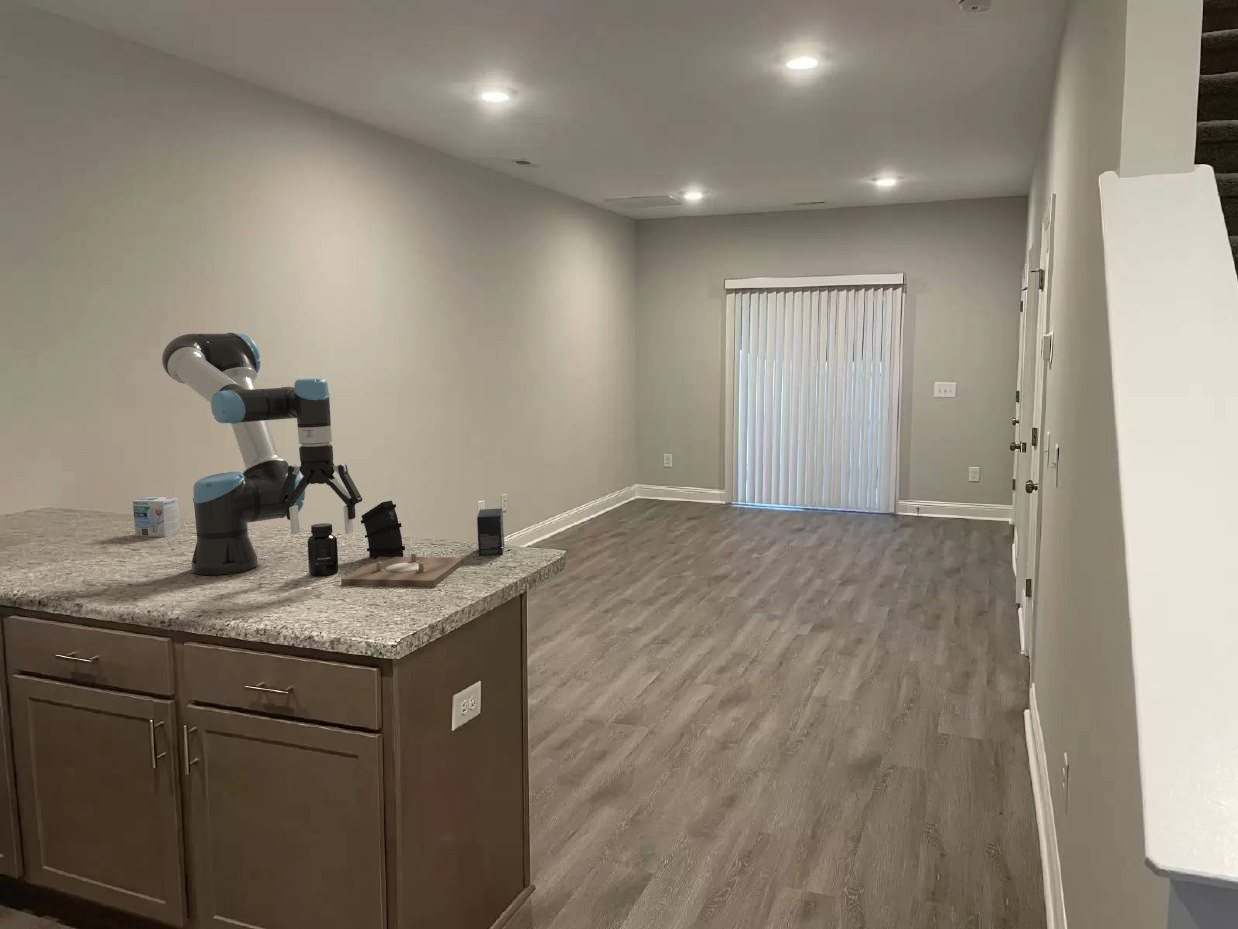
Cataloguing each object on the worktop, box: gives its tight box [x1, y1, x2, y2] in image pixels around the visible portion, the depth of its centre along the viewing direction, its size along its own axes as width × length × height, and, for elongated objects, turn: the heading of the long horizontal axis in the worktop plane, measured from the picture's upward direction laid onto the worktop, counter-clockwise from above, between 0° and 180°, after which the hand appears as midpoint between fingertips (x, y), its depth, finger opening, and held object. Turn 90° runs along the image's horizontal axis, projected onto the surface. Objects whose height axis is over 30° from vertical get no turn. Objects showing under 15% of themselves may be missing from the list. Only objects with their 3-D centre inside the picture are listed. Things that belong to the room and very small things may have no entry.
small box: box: [476, 507, 505, 557], centre depth 242 cm, size 11×6×10 cm, turn 5°
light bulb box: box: [132, 496, 181, 538], centre depth 274 cm, size 11×7×11 cm, turn 77°
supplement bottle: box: [306, 522, 339, 578], centre depth 221 cm, size 7×7×12 cm
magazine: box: [360, 500, 406, 559], centre depth 237 cm, size 4×13×15 cm, turn 50°
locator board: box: [340, 552, 465, 588], centre depth 220 cm, size 22×22×4 cm
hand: (322, 533), depth 220 cm, fingers open, 13 cm apart
